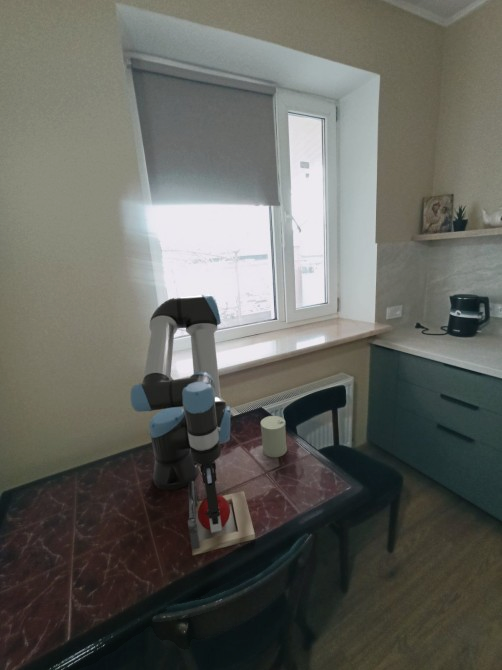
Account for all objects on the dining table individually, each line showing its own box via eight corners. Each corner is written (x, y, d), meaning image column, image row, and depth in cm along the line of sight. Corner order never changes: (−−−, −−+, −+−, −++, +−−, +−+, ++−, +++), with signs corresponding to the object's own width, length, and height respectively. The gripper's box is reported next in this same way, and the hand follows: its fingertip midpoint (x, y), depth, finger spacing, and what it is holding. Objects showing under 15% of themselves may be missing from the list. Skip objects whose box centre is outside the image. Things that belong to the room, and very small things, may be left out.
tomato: (232, 533, 77) (229, 509, 75) (199, 540, 76) (195, 515, 74) (230, 506, 86) (227, 484, 84) (199, 512, 85) (196, 489, 83)
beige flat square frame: (192, 555, 73) (191, 550, 72) (191, 507, 87) (190, 503, 87) (255, 538, 76) (254, 533, 75) (244, 495, 90) (243, 490, 90)
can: (288, 456, 106) (286, 427, 103) (262, 458, 106) (260, 429, 103) (285, 441, 115) (284, 413, 112) (262, 442, 115) (260, 415, 112)
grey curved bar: (192, 555, 71) (187, 524, 69) (191, 501, 87) (187, 475, 85) (199, 553, 72) (194, 522, 69) (197, 500, 88) (193, 473, 85)
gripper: (225, 472, 64) (234, 547, 69) (214, 414, 87) (222, 473, 93) (190, 480, 62) (202, 555, 68) (189, 419, 86) (198, 478, 92)
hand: (214, 508), depth 80 cm, fingers open, 13 cm apart
